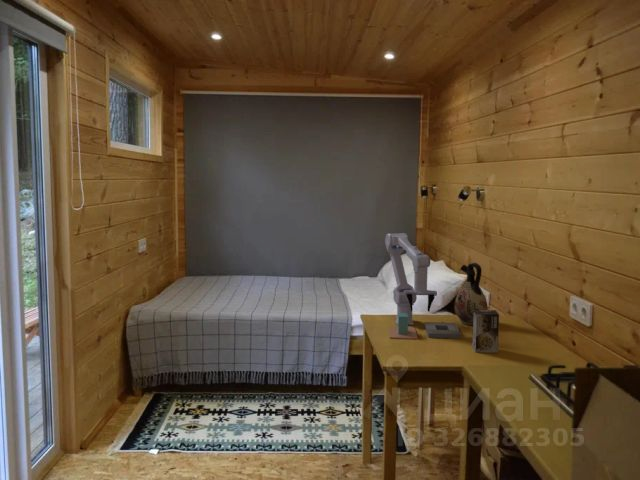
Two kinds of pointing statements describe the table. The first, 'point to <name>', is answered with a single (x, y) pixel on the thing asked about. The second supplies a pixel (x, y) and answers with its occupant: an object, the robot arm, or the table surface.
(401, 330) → the teal block
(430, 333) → the pocket board
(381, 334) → the table surface
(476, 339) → the coffee box
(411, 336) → the terracotta tile
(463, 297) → the ceramic jug
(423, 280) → the robot arm
